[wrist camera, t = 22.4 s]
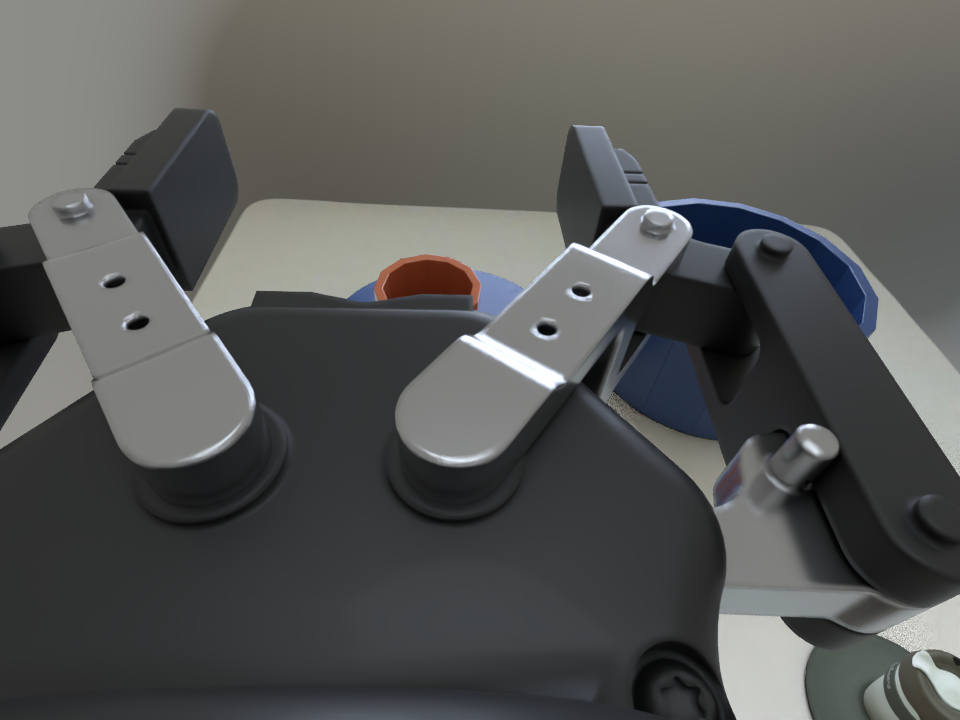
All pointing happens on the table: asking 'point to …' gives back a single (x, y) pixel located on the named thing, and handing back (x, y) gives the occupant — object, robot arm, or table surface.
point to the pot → (666, 363)
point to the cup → (428, 279)
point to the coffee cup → (883, 683)
